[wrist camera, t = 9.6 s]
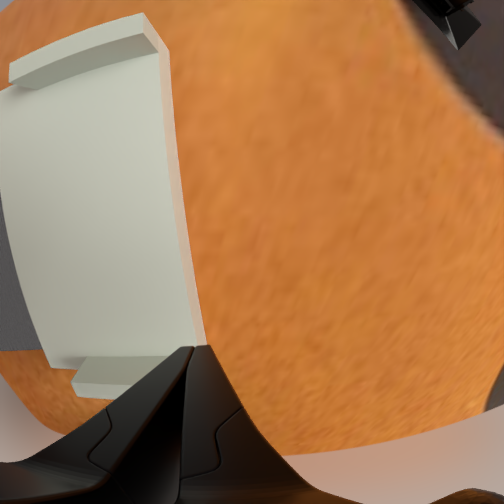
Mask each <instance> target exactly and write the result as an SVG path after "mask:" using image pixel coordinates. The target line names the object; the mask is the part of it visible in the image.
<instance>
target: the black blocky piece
mask: <svg viewBox="0 0 504 504" xmlns="http://www.w3.org/2000/svg"><path fill="white" fill-rule="evenodd" d="M413 1H414V2H415V3H416V4H417V5H418V6H419V7H420V8H421V9H422V10H423V12H424V13H425V14H426V15H427V16H428V17H429V18H430V19H431V20H432V21H433V22H434V23H435V24H436V25H437V27H438V28H439V29H440V30H441V31H442V32H443V33H444V35H445V36H446V37H447V38H448V39H449V41H450V42H451V43H452V44H453V45H454V47H455V48H456V49H457V50H459V49H460V48H461V47H462V46H463V45H464V43H465V42H466V41H467V40H468V39H469V38H470V37H471V36H472V35H473V34H474V33H475V31H476V30H477V29H478V28H479V27H480V26H481V23H480V22H479V20H478V19H477V18H476V16H475V15H474V14H473V13H472V12H471V10H470V9H469V8H468V7H467V5H468V4H469V3H472V2H474V0H413Z"/></svg>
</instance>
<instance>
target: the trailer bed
mask: <svg viewBox="0 0 504 504" xmlns="http://www.w3.org/2000/svg"><path fill="white" fill-rule="evenodd" d="M9 83H12V84H14V85H12V86H10V87H8V88H6V89H4V90H2V91H0V193H1V200H2V207H3V213H4V218H5V224H6V229H7V234H8V239H9V243H10V248H11V252H12V256H13V260H14V264H15V268H16V272H17V275H18V279H19V282H20V286H21V289H22V292H23V296H24V299H25V302H26V305H27V308H28V311H29V314H30V317H31V319H32V322H33V325H34V328H35V330H36V333H37V336H38V338H39V341H40V343H41V346H42V348H43V350H44V353H45V355H46V358H47V360H48V362H49V364H50V367H51V368H61V369H76V370H78V371H77V373H76V374H75V376H74V377H73V379H72V380H71V384H72V386H73V388H74V391H75V393H76V395H77V397H87V398H100V399H116V398H118V397H119V396H120V395H121V394H123V393H124V392H125V391H126V390H128V389H129V388H130V387H131V386H133V385H134V384H135V383H136V382H138V381H139V380H140V379H141V378H143V377H144V376H145V375H146V374H148V373H149V372H150V371H151V370H152V369H154V368H155V367H156V366H157V365H159V364H160V363H161V362H162V361H163V360H165V359H166V358H167V357H168V356H170V355H171V354H172V353H173V352H174V351H176V350H177V349H178V348H179V347H181V346H194V347H196V346H197V345H207V342H206V336H205V331H204V326H203V321H202V315H201V310H200V304H199V299H198V293H197V287H196V281H195V275H194V269H193V263H192V257H191V250H190V244H189V237H188V230H187V224H186V216H185V209H184V202H183V194H182V186H181V178H180V170H179V161H178V152H177V142H176V133H175V122H174V111H173V100H172V87H171V73H170V57H169V50H168V49H167V47H166V46H165V44H164V43H163V41H162V40H161V38H160V37H159V35H158V34H157V32H156V31H155V29H154V28H153V26H152V25H151V23H150V22H149V20H148V19H147V18H146V16H145V15H144V13H139V14H135V15H131V16H128V17H124V18H120V19H117V20H114V21H110V22H107V23H104V24H101V25H98V26H95V27H92V28H89V29H86V30H84V31H81V32H78V33H76V34H73V35H70V36H68V37H65V38H63V39H60V40H58V41H56V42H53V43H51V44H49V45H47V46H44V47H42V48H40V49H38V50H36V51H34V52H31V53H29V54H27V55H25V56H23V57H21V58H19V59H18V60H16V61H14V62H12V63H10V68H9Z"/></svg>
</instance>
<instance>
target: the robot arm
mask: <svg viewBox="0 0 504 504" xmlns="http://www.w3.org/2000/svg"><path fill="white" fill-rule="evenodd" d="M0 504H362V503H359V502H355V501H352V500H348V499H345V498H342V497H339V496H335V495H332V494H329V493H326V492H323V491H321V490H319V489H317V488H315V487H313V486H312V485H310V484H309V483H308V482H307V481H305V480H304V479H303V478H302V477H301V476H300V475H299V474H298V473H297V472H296V471H295V470H294V469H293V468H292V467H291V466H290V465H289V464H288V463H287V462H286V461H285V460H284V459H283V458H282V457H281V455H280V454H279V453H278V452H277V451H276V450H275V449H274V448H273V447H272V446H271V445H270V444H269V442H268V441H267V440H266V439H265V438H264V436H263V435H262V434H261V433H260V431H259V430H258V429H257V427H256V426H255V424H254V423H253V421H252V420H251V418H250V417H249V415H248V413H247V411H246V410H245V409H244V406H243V405H242V403H241V401H240V399H239V398H238V396H237V394H236V392H235V390H234V389H233V387H232V385H231V383H230V381H229V380H228V378H227V376H226V374H225V372H224V370H223V368H222V367H221V365H220V363H219V361H218V359H217V357H216V355H215V353H214V351H213V349H212V348H211V346H210V345H197V346H196V347H194V346H181V347H179V348H178V349H177V350H176V351H174V352H173V353H172V354H171V355H170V356H168V357H167V358H166V359H165V360H163V361H162V362H161V363H160V364H159V365H157V366H156V367H155V368H154V369H152V370H151V371H150V372H149V373H148V374H146V375H145V376H144V377H143V378H141V379H140V380H139V381H138V382H136V383H135V384H134V385H133V386H131V387H130V388H129V389H128V390H126V391H125V392H124V393H123V394H121V395H120V396H119V397H118V398H116V399H115V400H114V401H113V402H111V403H110V404H109V405H107V406H106V409H102V410H101V411H100V412H99V413H97V414H96V415H95V416H93V417H92V418H91V419H89V420H88V421H87V422H85V423H84V424H83V425H81V426H80V427H78V428H77V429H75V430H74V431H72V432H71V433H69V434H67V435H66V436H64V437H63V438H61V439H59V440H58V441H56V442H55V443H53V444H51V445H50V446H48V447H46V448H45V449H43V450H41V451H40V452H38V453H36V454H35V455H33V456H31V457H29V458H27V459H24V460H22V461H18V462H9V463H4V462H0ZM430 504H504V496H503V495H500V494H497V493H495V492H490V491H486V490H481V489H476V488H471V489H464V490H461V491H458V492H455V493H453V494H450V495H448V496H446V497H444V498H441V499H439V500H437V501H435V502H432V503H430Z"/></svg>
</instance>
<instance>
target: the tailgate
mask: <svg viewBox="0 0 504 504" xmlns="http://www.w3.org/2000/svg"><path fill="white" fill-rule="evenodd" d="M37 349H43V348H42V346H41V343H40V341H39V338H38V336H37V333H36V330H35V328H34V325H33V322H32V319H31V317H30V314H29V311H28V308H27V305H26V302H25V299H24V296H23V292H22V289H21V286H20V282H19V279H18V275H17V272H16V268H15V264H14V260H13V256H12V252H11V248H10V243H9V239H8V234H7V229H6V224H5V218H4V213H3V207H2V200H1V193H0V351H15V350H37Z"/></svg>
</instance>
